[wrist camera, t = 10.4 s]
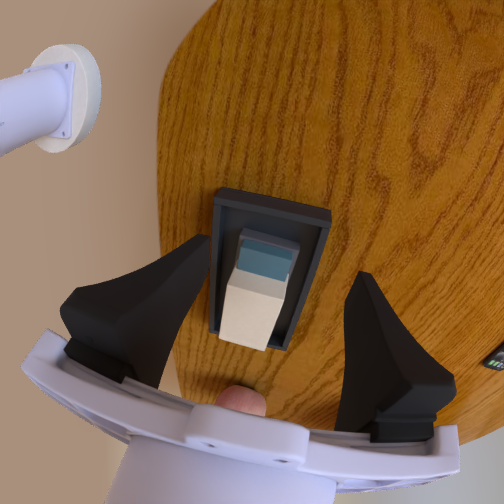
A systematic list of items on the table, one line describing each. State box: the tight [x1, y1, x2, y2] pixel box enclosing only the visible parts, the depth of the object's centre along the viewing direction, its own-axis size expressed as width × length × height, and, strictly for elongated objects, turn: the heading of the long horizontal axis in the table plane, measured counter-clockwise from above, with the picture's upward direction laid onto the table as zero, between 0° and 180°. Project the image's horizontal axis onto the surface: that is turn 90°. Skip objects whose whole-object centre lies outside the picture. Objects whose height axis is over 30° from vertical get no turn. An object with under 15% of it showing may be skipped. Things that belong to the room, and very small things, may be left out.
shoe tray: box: [209, 187, 332, 351], centre depth 25 cm, size 16×9×2 cm, turn 173°
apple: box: [214, 385, 266, 417], centre depth 37 cm, size 8×8×8 cm
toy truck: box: [219, 228, 300, 351], centre depth 24 cm, size 10×5×4 cm, turn 170°
